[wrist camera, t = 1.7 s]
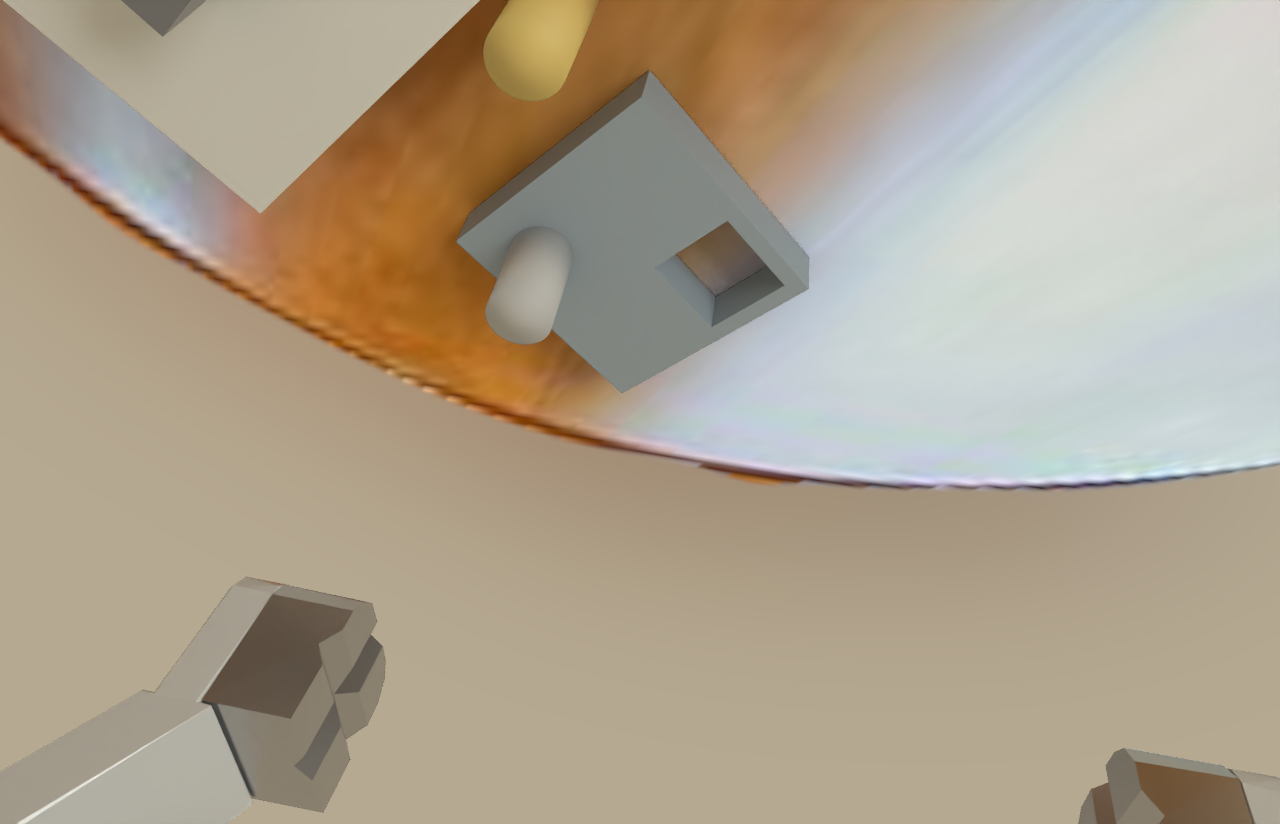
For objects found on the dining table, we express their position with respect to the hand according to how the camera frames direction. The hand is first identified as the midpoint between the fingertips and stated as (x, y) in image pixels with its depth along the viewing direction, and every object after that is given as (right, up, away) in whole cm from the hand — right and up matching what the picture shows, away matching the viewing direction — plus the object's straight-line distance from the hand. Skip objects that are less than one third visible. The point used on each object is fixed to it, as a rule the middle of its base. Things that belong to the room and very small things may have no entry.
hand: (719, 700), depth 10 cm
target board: (-1, +12, +36) cm, 38 cm away
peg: (-4, +21, +28) cm, 35 cm away
